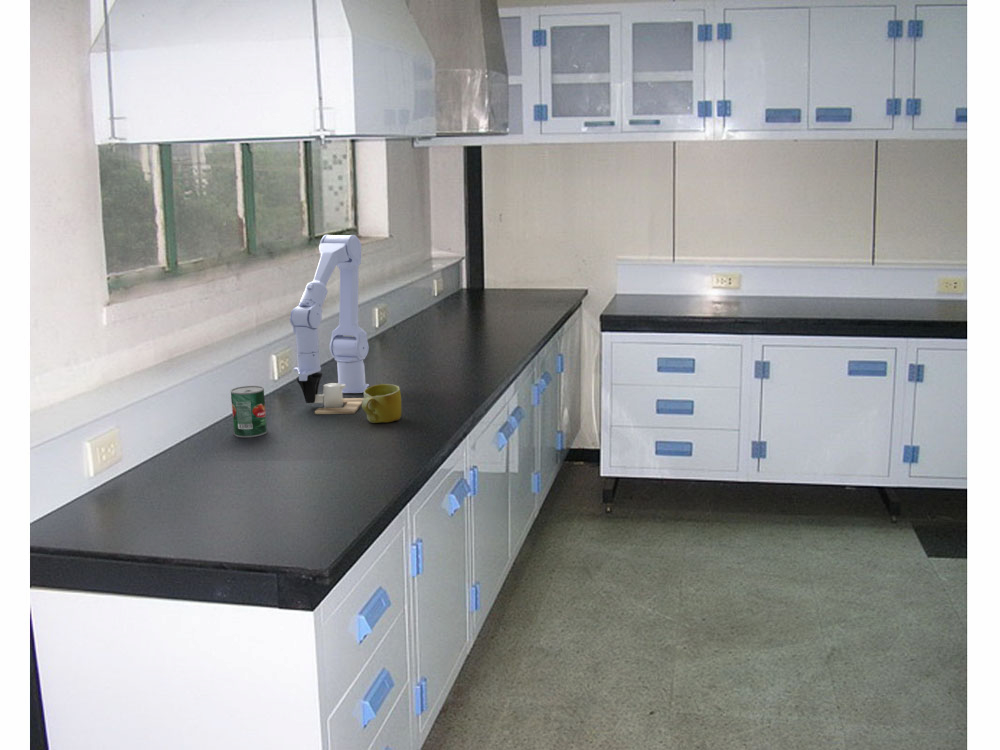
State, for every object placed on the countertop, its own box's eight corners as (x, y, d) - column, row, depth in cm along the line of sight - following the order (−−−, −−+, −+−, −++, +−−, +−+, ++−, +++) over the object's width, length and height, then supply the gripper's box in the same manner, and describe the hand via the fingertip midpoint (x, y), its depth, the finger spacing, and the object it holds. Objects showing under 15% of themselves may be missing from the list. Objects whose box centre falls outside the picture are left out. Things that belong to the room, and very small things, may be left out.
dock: (327, 400, 282) (327, 398, 282) (364, 400, 282) (364, 398, 281) (314, 414, 268) (314, 411, 268) (354, 413, 268) (354, 411, 267)
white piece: (347, 404, 277) (346, 382, 276) (344, 409, 272) (343, 387, 271) (310, 405, 278) (309, 383, 276) (306, 410, 273) (305, 387, 272)
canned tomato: (232, 431, 254) (228, 387, 252) (264, 427, 257) (261, 384, 254) (236, 439, 247) (232, 394, 244) (269, 435, 249) (266, 390, 247)
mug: (382, 404, 269) (383, 372, 263) (410, 421, 263) (411, 388, 258) (346, 422, 261) (347, 389, 255) (374, 440, 255) (375, 407, 250)
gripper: (299, 346, 279) (303, 395, 282) (285, 357, 265) (289, 408, 268) (325, 346, 279) (328, 395, 282) (312, 356, 265) (316, 408, 268)
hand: (311, 401), depth 275 cm, fingers closed on white piece
